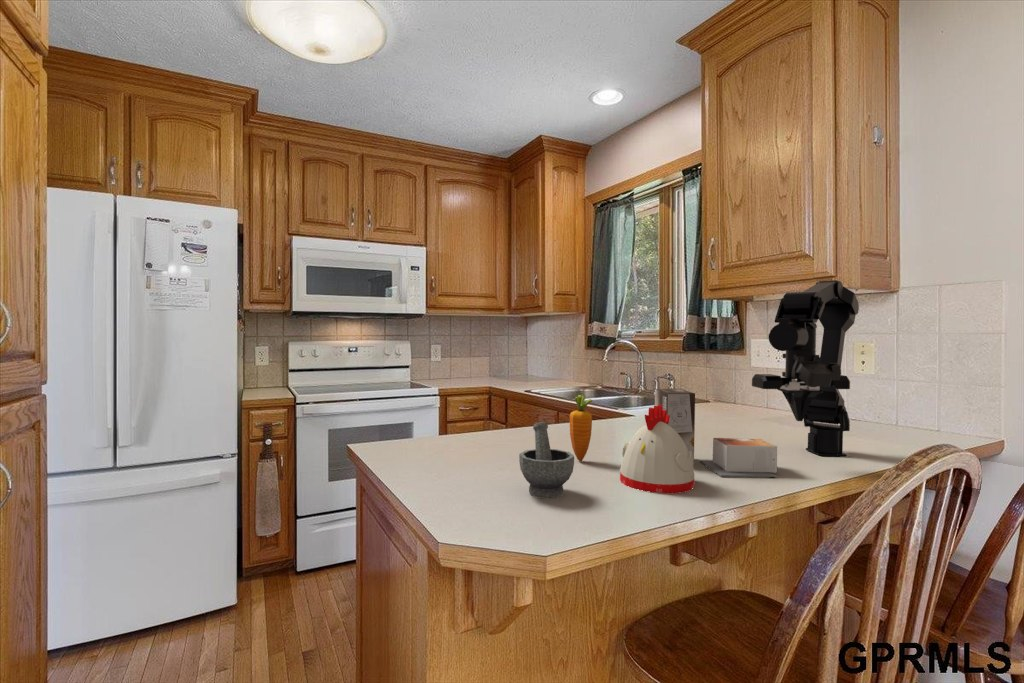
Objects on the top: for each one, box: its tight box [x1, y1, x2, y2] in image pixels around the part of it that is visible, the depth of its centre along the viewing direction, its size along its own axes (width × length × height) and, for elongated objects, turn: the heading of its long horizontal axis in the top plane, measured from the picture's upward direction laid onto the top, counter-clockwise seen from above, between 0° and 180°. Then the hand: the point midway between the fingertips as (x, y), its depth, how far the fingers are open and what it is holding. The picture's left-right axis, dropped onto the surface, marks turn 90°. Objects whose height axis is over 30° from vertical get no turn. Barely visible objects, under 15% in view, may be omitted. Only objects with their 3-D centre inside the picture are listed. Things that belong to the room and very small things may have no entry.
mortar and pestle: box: [518, 421, 575, 499], centre depth 94 cm, size 11×9×12 cm
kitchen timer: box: [619, 405, 695, 494], centre depth 101 cm, size 14×14×15 cm
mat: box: [699, 459, 777, 478], centre depth 111 cm, size 11×12×1 cm
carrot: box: [569, 394, 593, 462], centre depth 116 cm, size 5×5×15 cm
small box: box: [712, 437, 778, 473], centre depth 111 cm, size 8×6×10 cm
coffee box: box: [654, 388, 696, 467], centre depth 117 cm, size 9×6×16 cm
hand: (799, 420), depth 114 cm, fingers closed
